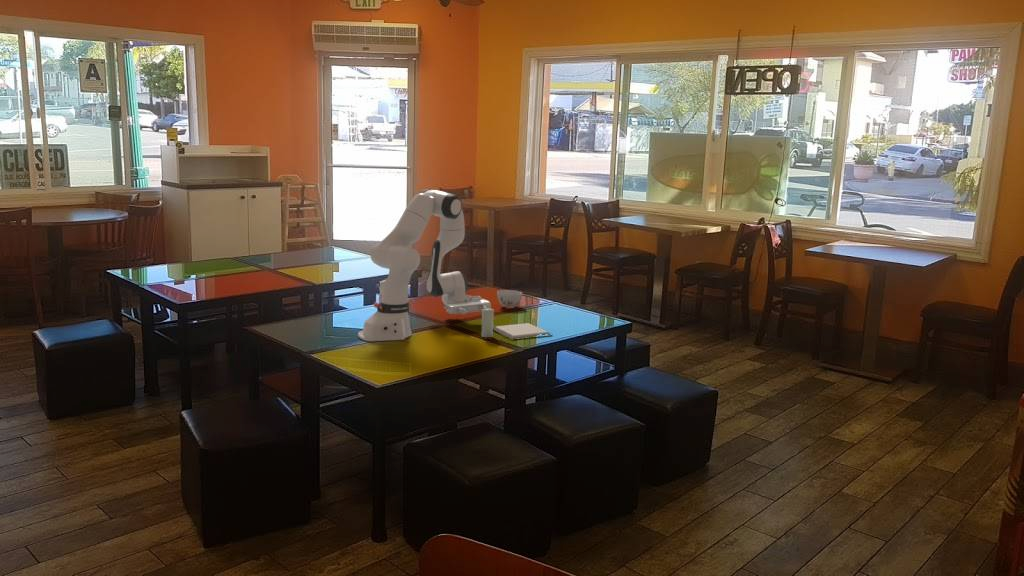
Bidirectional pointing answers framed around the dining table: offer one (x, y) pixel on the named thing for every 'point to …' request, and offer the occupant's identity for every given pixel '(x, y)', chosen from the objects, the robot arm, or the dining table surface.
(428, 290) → the robot arm
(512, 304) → the teacup
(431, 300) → the dining table surface
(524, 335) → the tile
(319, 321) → the dining table surface
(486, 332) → the grey upright block
